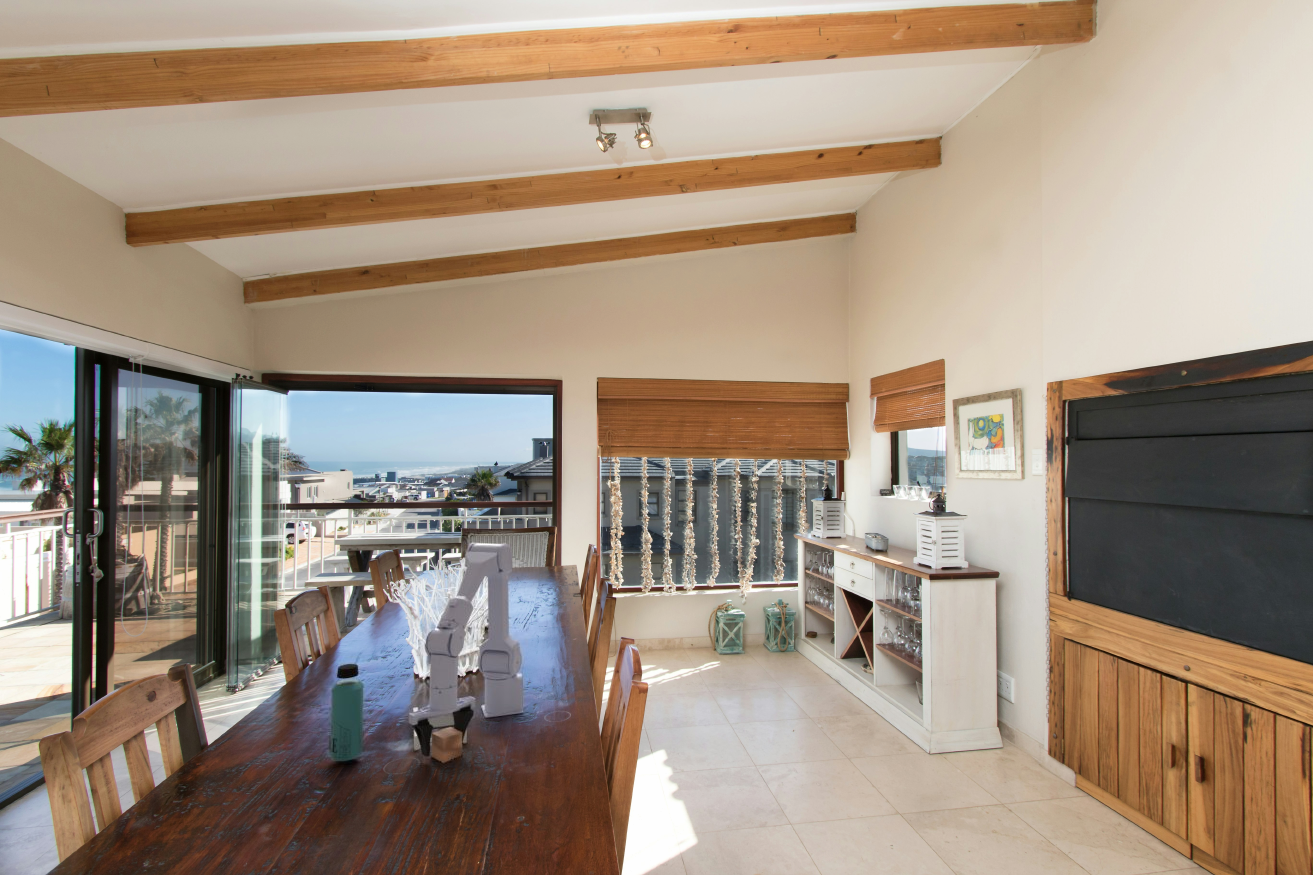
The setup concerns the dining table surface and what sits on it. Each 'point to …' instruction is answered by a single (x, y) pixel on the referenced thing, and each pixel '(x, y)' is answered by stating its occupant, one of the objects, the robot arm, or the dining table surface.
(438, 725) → the channel
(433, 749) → the block
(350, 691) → the beverage bottle
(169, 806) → the dining table surface
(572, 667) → the dining table surface
